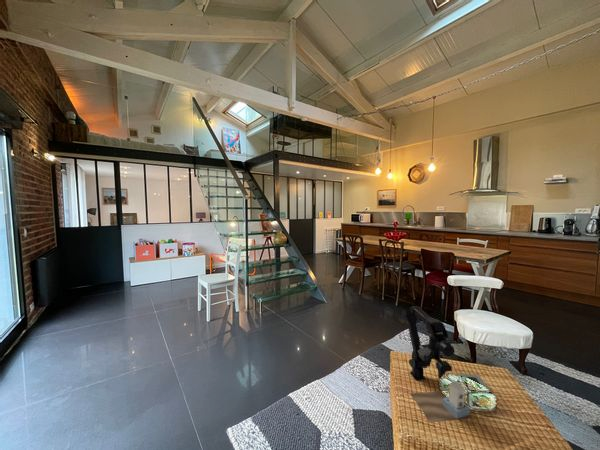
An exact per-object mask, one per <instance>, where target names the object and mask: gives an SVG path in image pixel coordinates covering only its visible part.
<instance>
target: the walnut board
mask: <svg viewBox="0 0 600 450" xmlns="http://www.w3.org/2000/svg"><path fill="white" fill-rule="evenodd" d="M442 391H443V390H437V391H436V390H433V391H425V392H424V391H423V392H412V393H409V395H410V396H411V397H412V399H413V400H414V402H415V403H416V404H417V406H418V407H419V409H420V410H421V412H422V413H423V415H424V416H425V417H426V419H427V420H428V421H429V423H438V422H449V421H457V420H467V419H468V420H469V419H473V418H474V416H472V415H471V414H470V415H468V416H464V417H461V418H458V419H456V418H455V417H454V416H453V415H452V414H451V413H450V412H449V411H448V410H447V409H446V408H445V407H444V406H443V398H447V397H446V396H445V395H444V394H443V393H442Z"/></svg>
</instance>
